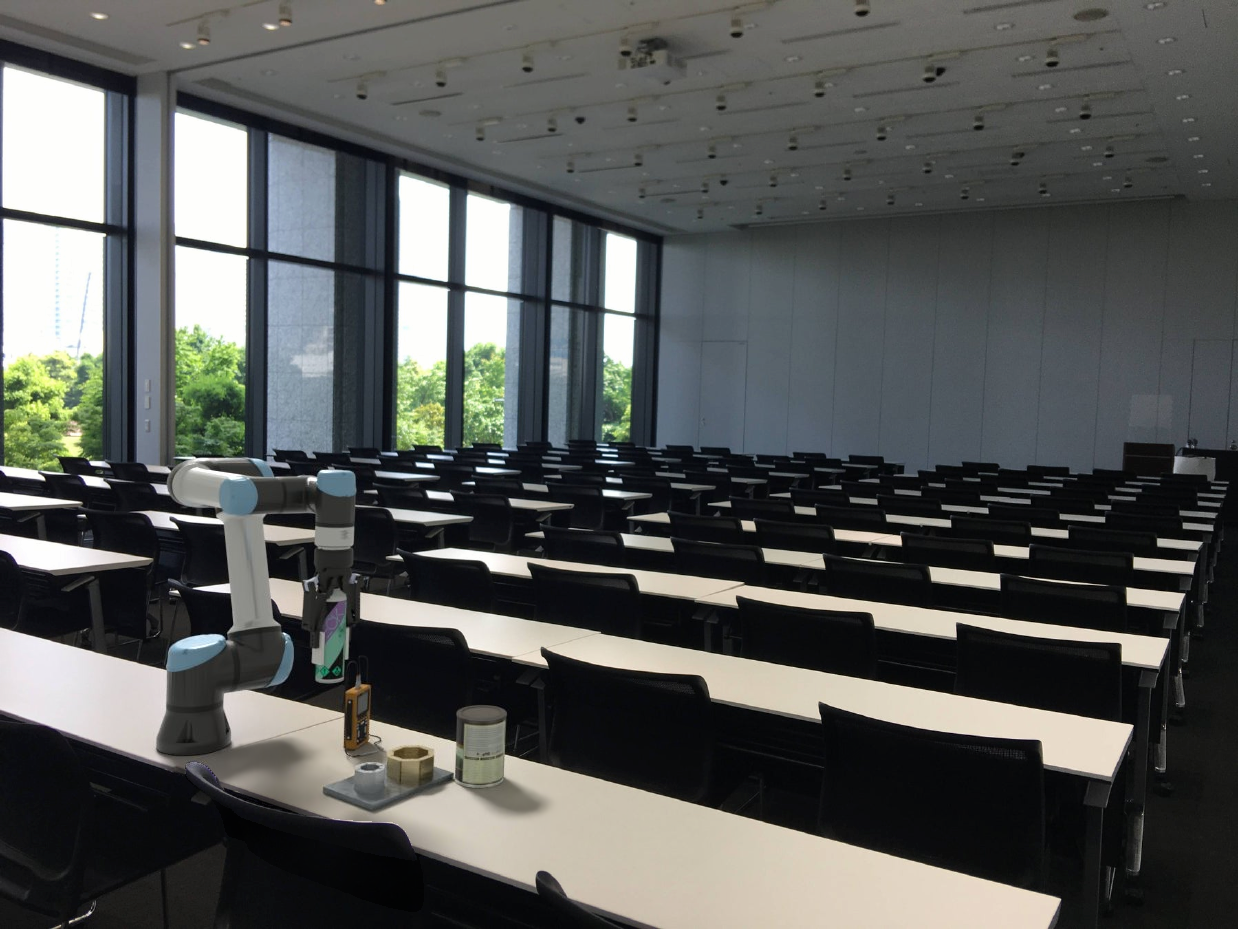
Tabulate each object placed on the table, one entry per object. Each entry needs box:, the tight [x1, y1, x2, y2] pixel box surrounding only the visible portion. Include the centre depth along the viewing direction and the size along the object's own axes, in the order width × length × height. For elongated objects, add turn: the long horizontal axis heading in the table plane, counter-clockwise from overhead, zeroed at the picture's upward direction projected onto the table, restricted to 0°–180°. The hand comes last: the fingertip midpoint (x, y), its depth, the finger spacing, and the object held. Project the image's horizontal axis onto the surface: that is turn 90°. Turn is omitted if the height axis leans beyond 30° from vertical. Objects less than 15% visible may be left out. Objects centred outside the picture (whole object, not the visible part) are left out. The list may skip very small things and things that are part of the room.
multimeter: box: [343, 655, 387, 758], centre depth 217 cm, size 15×10×20 cm
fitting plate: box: [322, 744, 455, 812], centre depth 195 cm, size 14×22×5 cm, turn 146°
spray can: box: [315, 587, 347, 684], centre depth 196 cm, size 6×6×20 cm
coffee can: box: [453, 704, 508, 789], centre depth 201 cm, size 10×10×14 cm
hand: (330, 660), depth 196 cm, fingers closed on spray can, 5 cm apart
